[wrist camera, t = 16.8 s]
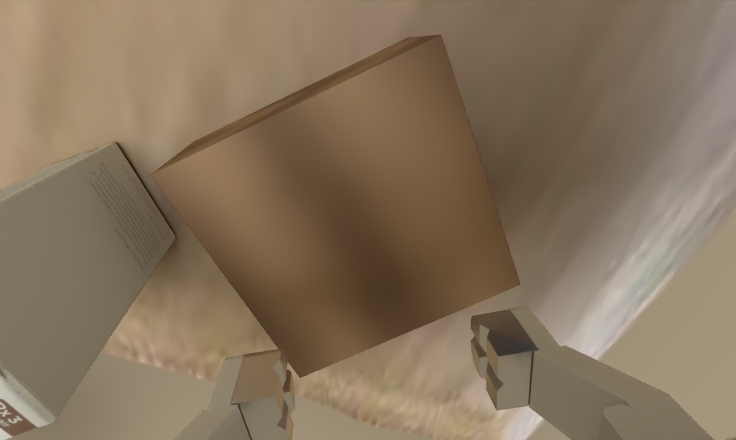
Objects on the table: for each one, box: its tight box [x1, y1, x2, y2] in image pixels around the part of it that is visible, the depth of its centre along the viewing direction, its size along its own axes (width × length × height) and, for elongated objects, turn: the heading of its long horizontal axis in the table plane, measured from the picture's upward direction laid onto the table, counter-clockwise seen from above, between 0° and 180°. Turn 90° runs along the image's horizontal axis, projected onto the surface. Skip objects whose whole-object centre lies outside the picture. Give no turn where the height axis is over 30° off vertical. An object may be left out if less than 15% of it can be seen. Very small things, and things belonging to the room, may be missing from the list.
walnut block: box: [151, 35, 520, 378], centre depth 20 cm, size 12×12×6 cm
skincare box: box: [0, 143, 175, 440], centre depth 15 cm, size 6×4×12 cm
